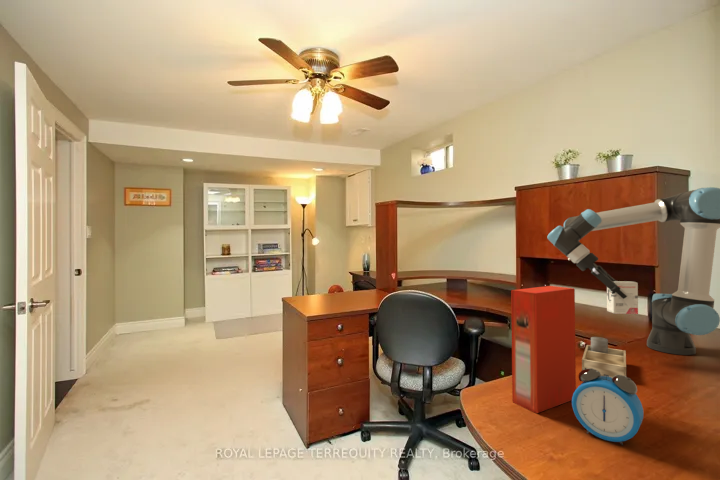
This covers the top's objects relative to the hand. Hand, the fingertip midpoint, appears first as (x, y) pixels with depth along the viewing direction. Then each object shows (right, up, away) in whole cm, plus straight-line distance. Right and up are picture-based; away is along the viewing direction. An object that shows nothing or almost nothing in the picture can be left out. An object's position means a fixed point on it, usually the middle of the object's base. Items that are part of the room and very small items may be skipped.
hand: (633, 302), depth 131 cm
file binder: (-50, -23, -31) cm, 63 cm away
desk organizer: (-16, -22, -7) cm, 28 cm away
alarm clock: (-44, -23, -48) cm, 69 cm away
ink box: (-3, -4, +2) cm, 6 cm away
